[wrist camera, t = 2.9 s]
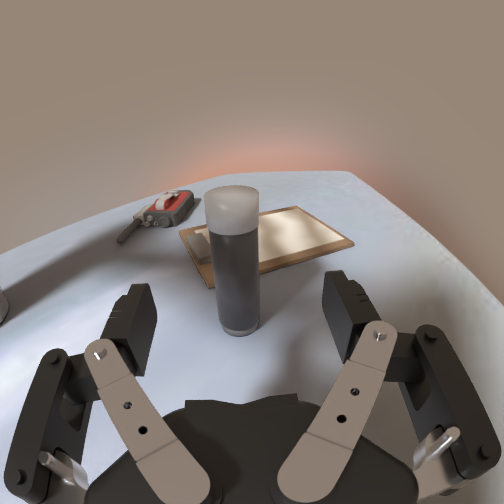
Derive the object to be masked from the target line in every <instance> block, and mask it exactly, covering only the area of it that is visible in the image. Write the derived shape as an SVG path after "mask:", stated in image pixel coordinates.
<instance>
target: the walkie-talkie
mask: <svg viewBox="0 0 504 504" xmlns="http://www.w3.org/2000/svg"><path fill="white" fill-rule="evenodd" d="M193 205H194V195H193V193H192V192H191V191H190V190H175V191H168V192H167V193H165V194H162V195H161V196H160V197H159V199H157V200H156V201H155V203H154V204H150V205H148V206H145V207H143V208H142V209H141V210H140V211H139V212H138V213H136V214H135V215H134V216H133V219H134V221H133V223H132V224H131V225H130V226H129V227H128V228H127V229H126V230H125V231H124V232H123V233H122V234H121V235H120V236H119V237H118V238H117V240H116V241H117V242H118V243H122V242H123V241H124V240H125V238H126V237H127V236H128V235H129V234H130V233H131V232H132V231H133V230H134V229H135V228H136V227H138V226H139V225H145V227H149V226H162V227H168V226H177V225H178V224H179V223H180V222H181V220H182V219H183V218H184V216H185V214H186V213H187V212H188V211H189V210H190V209H191V207H192V206H193Z"/></svg>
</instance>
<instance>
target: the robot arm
mask: <svg viewBox="0 0 504 504" xmlns="http://www.w3.org/2000/svg"><path fill="white" fill-rule="evenodd" d="M322 307H323V311H324V314H325V317H326V319H327V322H328V325H329V327H330V330H331V333H332V335H333V338H334V341H335V344H336V346H337V349H338V352H339V355H340V357H341V360H342V363H343V364H345V365H344V367H343V369H342V370H341V372H340V374H339V376H338V378H337V380H336V382H335V384H334V385H333V387H332V389H331V391H330V393H329V394H328V396H327V398H326V400H325V401H324V403H323V405H322V407H320V406H318V405H315V404H312V403H309V402H304V401H298V397H297V393H295V394H287V395H278V396H269V397H266V398H262V399H259V400H256V401H252V402H249V403H245V404H233V403H227V402H221V401H216V400H185V408H181V409H178V410H175V411H173V412H171V413H169V414H167V415H165V416H164V417H161V416H160V414H159V413H158V412H157V410H156V409H155V407H154V406H153V404H152V403H151V402H150V400H149V399H148V397H147V396H146V394H145V393H144V391H143V390H142V388H141V387H140V385H139V383H138V382H137V380H136V379H135V376H144V374H145V369H146V365H147V360H148V356H149V352H150V348H151V344H152V340H153V335H154V332H155V328H156V324H157V310H156V307H155V303H154V300H153V296H152V293H151V289H150V286H149V284H148V283H145V284H132V285H131V287H130V289H129V292H128V294H127V295H122V296H121V297H120V298H119V299H118V300H117V301H116V302H115V305H114V307H113V309H112V312H111V314H110V316H109V318H108V320H107V323H106V325H105V328H104V330H103V332H102V335H101V337H100V339H98V340H96V341H93V342H92V343H90V344H89V345H88V346H87V348H86V349H85V352H84V353H82V354H78V355H73V356H68V355H67V353H66V352H65V351H64V350H63V349H59V348H57V349H52V350H50V351H48V352H47V353H46V354H45V355H44V356H43V357H42V359H41V362H40V364H39V366H38V369H37V371H36V374H35V376H34V379H33V381H32V384H31V386H30V389H29V391H28V394H27V397H26V400H25V402H24V405H23V408H22V411H21V414H20V417H19V420H18V423H17V426H16V430H15V433H14V436H13V440H12V443H11V447H10V451H9V454H8V458H7V462H6V467H5V471H4V483H5V485H6V487H7V489H8V490H9V491H10V492H11V493H12V494H13V495H15V496H17V497H19V498H21V499H22V500H24V501H25V502H27V503H28V504H417V502H419V501H422V500H425V499H427V498H430V497H432V496H435V495H437V494H439V495H442V496H447V495H450V494H452V493H454V492H456V491H458V490H459V489H461V488H463V487H464V486H466V485H467V484H469V483H471V482H472V481H474V480H475V479H477V478H478V477H480V476H481V475H483V474H484V473H486V472H487V471H488V470H490V469H491V468H493V467H494V466H495V465H496V464H497V463H498V461H499V459H500V456H501V445H500V442H499V440H498V438H497V435H496V433H495V431H494V428H493V426H492V424H491V421H490V419H489V417H488V415H487V413H486V411H485V408H484V406H483V404H482V402H481V400H480V398H479V396H478V394H477V392H476V390H475V388H474V386H473V384H472V382H471V380H470V378H469V377H468V375H467V373H466V371H465V369H464V367H463V365H462V364H461V362H460V360H459V358H458V357H457V355H456V353H455V351H454V350H453V348H452V346H451V344H450V343H449V341H448V339H447V338H446V336H445V334H444V333H443V331H442V330H440V329H439V328H438V327H436V326H433V325H422V326H420V327H419V328H418V329H417V330H416V333H415V334H409V333H399V332H397V331H396V329H395V328H394V327H393V326H392V325H391V324H389V323H387V322H384V321H382V320H381V319H380V317H379V315H378V313H377V312H376V310H375V308H374V306H373V305H372V303H371V301H369V298H368V296H367V295H366V293H365V291H364V289H363V287H362V286H361V285H360V284H358V283H357V282H356V281H354V280H348V279H347V277H346V275H345V274H344V272H343V271H342V270H338V271H327V272H326V273H325V278H324V287H323V295H322ZM8 308H9V304H8V301H7V299H6V297H5V295H4V293H3V291H2V289H1V287H0V323H1V322H2V321H3V319H4V318H5V316H6V314H7V312H8ZM383 381H389V382H398V384H399V387H400V389H401V392H402V395H403V397H404V400H405V403H406V405H407V408H408V411H409V414H410V417H411V420H412V422H413V425H414V428H415V431H416V434H417V437H418V440H419V445H418V446H417V447H416V449H415V451H414V454H413V461H414V466H413V470H411V469H410V468H409V467H408V466H407V465H406V464H404V463H403V462H401V461H400V460H398V459H396V458H395V457H393V456H392V455H390V454H389V453H387V452H386V451H384V450H383V449H381V448H380V447H378V446H377V445H375V444H374V443H372V442H371V441H369V440H368V439H366V438H365V437H364V436H362V435H361V433H362V430H363V428H364V426H365V424H366V422H367V419H368V417H369V415H370V412H371V410H372V408H373V405H374V403H375V400H376V398H377V395H378V393H379V390H380V388H381V385H382V382H383ZM97 400H102V402H103V404H104V406H105V408H106V410H107V412H108V414H109V416H110V418H111V420H112V422H113V424H114V425H115V427H116V429H117V431H118V433H119V435H120V436H121V438H122V440H123V442H124V443H125V445H126V447H127V448H128V450H127V451H126V452H125V453H124V454H123V455H122V456H121V457H120V458H119V459H118V460H116V461H115V462H114V463H113V464H112V465H111V466H110V467H109V468H108V469H107V470H105V471H104V472H103V473H102V474H101V475H100V476H99V477H98V478H97V479H95V480H94V481H93V482H92V483H91V484H90V486H89V484H88V479H87V473H86V471H85V469H84V468H83V467H82V466H81V461H82V455H83V449H84V443H85V438H86V433H87V428H88V423H89V418H90V413H91V409H92V404H93V401H97Z"/></svg>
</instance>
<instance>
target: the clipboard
mask: <svg viewBox="0 0 504 504" xmlns="http://www.w3.org/2000/svg"><path fill="white" fill-rule="evenodd" d="M179 235H180V237H181V238H182V240H183V242H184V244H185V246H186V248H187V250H188V252H189V253H190V255H191V257H192V259H193V261H194V263H195V265H196V266H197V268H198V270H199V272H200V274H201V275H202V277H203V279H204V281H205V283H206V284H207V286H208V288H213V287H215V282H214V274H213V266H212V257H211V248H210V239H209V230H208V228H207V224H206V225H201V226H197V227H193V228H188V229H184V230H179ZM258 245H259V274H262V273H266V272H269V271H272V270H276V269H279V268H283V267H286V266H289V265H293V264H296V263H300V262H303V261H306V260H310V259H313V258H316V257H320V256H323V255H326V254H329V253H333V252H336V251H339V250H342V249H346V248H349V247H352V246H354V242H353V241H351V240H350V239H348V238H347V237H345V236H344V235H342V234H340V233H339V232H337V231H336V230H334V229H333V228H331V227H330V226H328V225H327V224H325V223H323V222H322V221H320V220H319V219H317V218H315V217H314V216H312V215H311V214H309V213H307V212H306V211H304V210H303V209H301V208H299V207H298V206H292V207H287V208H282V209H277V210H272V211H267V212H262V213H259V225H258Z"/></svg>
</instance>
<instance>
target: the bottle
mask: <svg viewBox="0 0 504 504" xmlns="http://www.w3.org/2000/svg"><path fill="white" fill-rule="evenodd" d="M204 203H205V213H206V223H207V228H208V230H209V239H210V248H211V257H212V266H213V274H214V282H215V290H216V298H217V306H218V313H219V320H220V323H221V324H222V327H223V329H224V331H225V332H226V333H228V334H229V335H232V336H237V337H242V336H247V335H249V334H251V333H253V332H254V331H255V330H256V329H257V327H258V321H259V319H260V295H259V245H258V225H259V192H258V191H257V190H256V189H254V188H252V187H248V186H236V185H235V186H223V187H218V188H215V189H212V190H210V191H208V192H206V193H205V194H204Z"/></svg>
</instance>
